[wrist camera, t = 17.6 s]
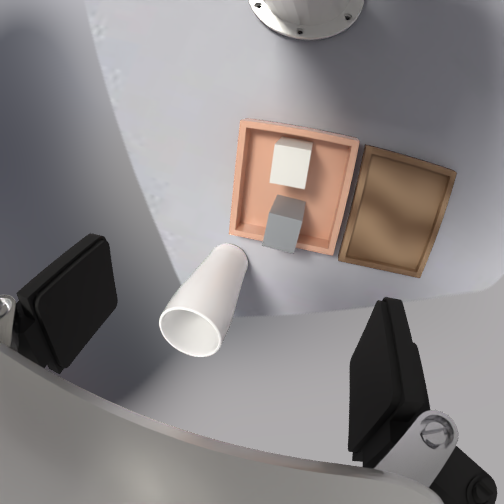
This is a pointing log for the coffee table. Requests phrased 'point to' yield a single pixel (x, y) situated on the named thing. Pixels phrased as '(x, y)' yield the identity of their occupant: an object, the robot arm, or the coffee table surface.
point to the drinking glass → (205, 303)
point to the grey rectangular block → (284, 224)
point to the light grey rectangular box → (291, 162)
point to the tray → (395, 212)
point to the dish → (315, 193)
